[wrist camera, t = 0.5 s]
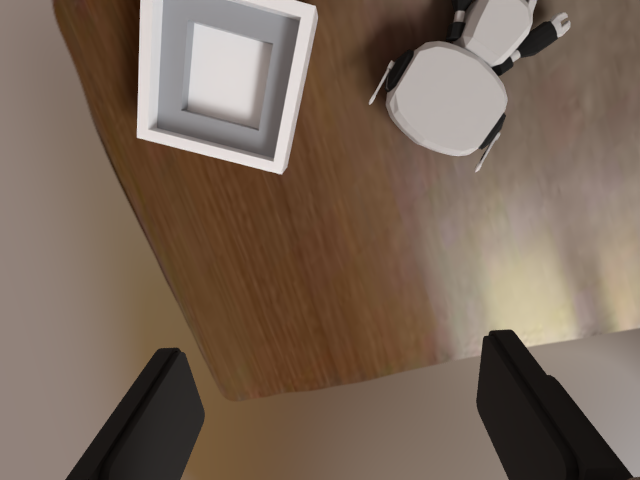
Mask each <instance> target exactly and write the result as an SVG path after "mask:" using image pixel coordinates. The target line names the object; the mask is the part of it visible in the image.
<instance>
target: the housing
mask: <svg viewBox="0 0 640 480" xmlns="http://www.w3.org/2000/svg"><path fill="white" fill-rule="evenodd" d="M317 21H318V14H317V10H316V6H313V5H310V4H306V3H303V2H299V1H296V0H140V38H139V77H138V115H137V138H141V139H145V140H149V141H152V142H156V143H160V144H164V145H168V146H172V147H176V148H180V149H184V150H188V151H192V152H196V153H200V154H203V155H207V156H211V157H215V158H219V159H223V160H227V161H231V162H235V163H239V164H243V165H247V166H250V167H254V168H258V169H262V170H266V171H270V172H274V173H278V174H282V173H283V172H284V170H285V169H286V168H287V165H288V160H289V156H290V151H291V146H292V141H293V136H294V131H295V127H296V122H297V117H298V112H299V107H300V102H301V98H302V93H303V88H304V83H305V78H306V74H307V69H308V64H309V59H310V54H311V49H312V45H313V40H314V35H315V30H316V25H317Z"/></svg>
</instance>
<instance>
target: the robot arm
mask: <svg viewBox="0 0 640 480" xmlns="http://www.w3.org/2000/svg"><path fill="white" fill-rule="evenodd" d="M476 403H477V409H478V412H479V415H480V417H481V419H482V421H483V423H484V426H485V428H486V430H487V432H488V434H489V437H490V439H491V441H492V443H493V446H494V448H495V450H496V452H497V454H498V456H499V459H500V461H501V463H502V465H503V468H504V470H505V472H506V474H507V476H508V479H509V480H640V477H633V476H632V475H631V473H630V472H629V471H628V470H627V468H626V467H625V466H624V465H623V463H622V462H621V461H620V459H619V458H618V457H617V456H616V454H615V453H614V452H613V451H612V449H611V448H610V447H609V445H608V444H607V443H606V441H605V440H604V439H603V438H602V436H601V435H600V434H599V433H598V431H597V430H596V429H595V427H594V426H593V425H592V424H591V422H590V421H589V420H588V418H587V417H586V416H585V415H584V413H583V412H582V411H581V410H580V408H579V407H578V406H577V404H576V403H575V402H574V401H573V400H572V398H571V397H570V396H569V394H568V393H567V392H566V390H565V389H564V388H563V387H562V385H561V384H560V383H559V382H558V381H557V380H556V379H555V378H554V377H552V376H551V375H546V373H545V372H544V371H543V369H542V368H541V366H540V365H539V364H538V363H537V361H536V360H535V359H534V357H533V356H532V355H531V353H530V352H529V351H528V350H527V348H526V347H525V345H524V344H523V343H522V341H521V340H520V339H519V338H518V336H517V335H516V334H515V332H514V331H513V330H493V331H490V332H489V336H484V338H483V344H482V353H481V363H480V372H479V381H478V390H477V400H476ZM204 417H205V413H204V408H203V405H202V403H201V399H200V396H199V394H198V391H197V388H196V385H195V382H194V378H193V376H192V373H191V370H190V367H189V364H188V361H187V358H186V355H185V353H184V352H181V351H180V349H179V348H161V349H158V350H157V351H156V352H155V354H154V355H153V356H152V358H151V359H150V361H149V362H148V364H147V365H146V367H145V368H144V369H143V371H142V372H141V373H140V375H139V376H138V378H137V379H136V381H135V382H134V383H133V385H132V386H131V388H130V389H129V391H128V392H127V393H126V395H125V396H124V397H123V399H122V400H121V402H120V403H119V405H118V406H117V407H116V409H115V410H114V412H113V413H112V414H111V416H110V417H109V419H108V420H107V422H106V423H105V424H104V426H103V427H102V429H101V430H100V431H99V433H98V434H97V436H96V437H95V438H94V440H93V441H92V443H91V444H90V446H89V447H88V449H87V450H86V451H85V453H84V454H83V456H82V457H81V458H80V460H79V461H78V463H77V464H76V465H75V467H74V468H73V470H72V471H71V472H70V474H69V475H68V477H67V478H66V479H65V480H180V479H181V477H182V474H183V472H184V469H185V467H186V464H187V462H188V459H189V457H190V454H191V452H192V449H193V447H194V444H195V442H196V440H197V437H198V434H199V432H200V430H201V427H202V425H203V422H204Z"/></svg>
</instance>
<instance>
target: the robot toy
mask: <svg viewBox="0 0 640 480" xmlns="http://www.w3.org/2000/svg"><path fill="white" fill-rule="evenodd" d="M451 1H452V5H453V8H454V11H455V17H454V22H453V23H451V24H450V25H449V27H448V32H447V37H446V40H448V41H453V44H450V43H447V42H441V41H435V42H426V43H425V44H423V45H422V46H420V47H419V48H418V49H416V50H415V51H413V50H408V51H407V52H405V53H404V54H402V55H401V56H400V57H399V58H398V59H397V60H396V61H395V62H393V61H392V60H391V62H390V63H389V65H388V67H387V68H386V69H387V71H386V73H385V74H384V76H383V78H382V80H381V82H380V84H379V85H378V87H377V89H376V91H375V93H374V94H373V96H372V97H371V99H370V101H369V105H370V104H371V103H372V102H373V101H374V99H375V97H376V94H377V92H378V90H379V89H380V87H381V85H382V83H383V81H384V80H385V78H386V82H385V88H384V89H385V90H386V91H387V99H386V107H387V110H388V113H389V116H390V117H391V119H392V120H393V122H394V123H395V124H396V125H397V126H398V128H399V129H400V130H401V131H402V132H403V133H405V134H406V135H407V136H408V137H409V138H410V139H411V140H412V141H413V142H415V143H416V144H418V145H421V146H423V147H426V148H428V149H431V150H433V151H436V152H440V153H444V154H448V155H453V156H463V155H469V154H471V153H472V152H473V151H475V150H476V149H483V148H485V147H486V146H487V145H489V146H488V147H487V149H486V151H485V153H484V154H483V156H482V158H481V160H480V161H479V163H478V164H477V165H476V167H475V172H477V171H478V170H479V169H480V168H481V166H482V163H483V161H484V159H485V157H486V156H487V154H488V152H489V150H490V149H491V147H492V145H493V143H494V142H495V140H497V139H498V138H499V136H500V133H499V131H500V130H501V128H502V125H503V122H504V120H505V117H506V115H505V114H504V111H505V108H506V104H507V100H508V99H507V95H506V91H505V87H504V85H503V83H502V82H501V80H500V79H499V77H498V76H500V75H502V74H503V73H505V72H506V71H508V70H509V69H511V68H512V67H513V62H514V61H515V60H517V59H518V58H522V57H528V56H533V55H535V54H537V53H538V52H540V51H541V50H543V49H544V48H546V47H547V46H548V45H550V44H551V43H553V42H554V41H555V40H557V39H558V37H561V36H562V35H563V34H564V33H565V32H566V31H567V30H568V29H569V28H570V24H571V23H570V21H566V22H565V23H564V24H563V25H561V23H560V21H562V20H563V19H565V18H566V17H568V16H567V14H566V13H563V12H560V13H558V14H555V15H553V16H552V18H551V19H550V21H548V22H543V23H542V24H540V25H539V26H537V27H536V28H535V29H533V30H532V31H530V28H531V26H532V23H533V11H534V8H535V5H536V2H537V0H476V1H475V2H474V3H472V4H471V2H472V0H451ZM470 4H471V5H470ZM469 5H470V6H469ZM467 8H468V9H467ZM466 10H467V11H466ZM465 11H466V13H465ZM464 14H465V15H464ZM529 31H530V32H529ZM490 67H491V68H492V69H491V68H490ZM388 72H389V73H388ZM386 76H387V77H386Z"/></svg>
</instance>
